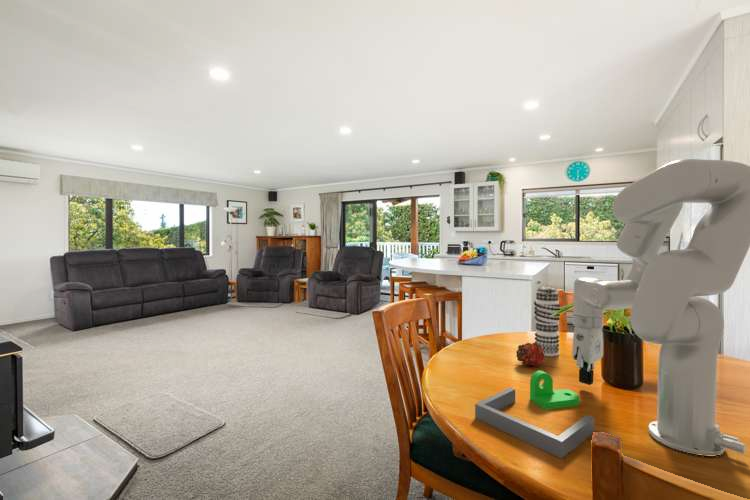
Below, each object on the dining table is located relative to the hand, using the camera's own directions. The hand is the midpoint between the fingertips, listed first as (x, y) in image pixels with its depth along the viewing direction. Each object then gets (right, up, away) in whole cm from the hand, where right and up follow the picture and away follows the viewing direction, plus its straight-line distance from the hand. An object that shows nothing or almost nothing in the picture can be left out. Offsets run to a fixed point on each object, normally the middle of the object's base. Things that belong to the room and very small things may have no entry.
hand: (585, 382), depth 104 cm
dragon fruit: (-7, -2, +20) cm, 22 cm away
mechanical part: (-12, -3, -8) cm, 15 cm away
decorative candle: (+4, -1, +33) cm, 33 cm away
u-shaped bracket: (-24, -3, -19) cm, 30 cm away
